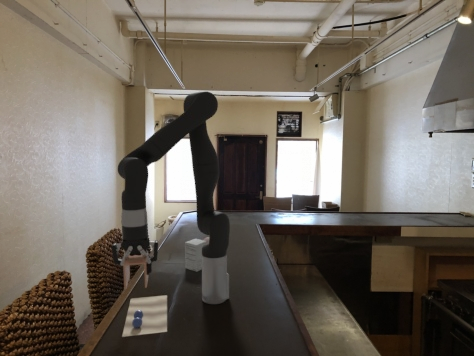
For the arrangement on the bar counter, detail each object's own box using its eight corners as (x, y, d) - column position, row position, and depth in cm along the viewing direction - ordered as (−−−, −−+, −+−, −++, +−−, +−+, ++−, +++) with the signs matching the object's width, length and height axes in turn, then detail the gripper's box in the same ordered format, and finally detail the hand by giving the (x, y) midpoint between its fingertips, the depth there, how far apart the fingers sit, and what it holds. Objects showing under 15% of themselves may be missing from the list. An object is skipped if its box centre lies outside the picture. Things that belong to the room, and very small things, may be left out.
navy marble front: (140, 323, 102) (140, 314, 102) (143, 328, 100) (143, 318, 99) (131, 326, 101) (130, 317, 100) (133, 331, 98) (133, 321, 98)
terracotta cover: (128, 276, 105) (127, 252, 104) (148, 274, 107) (147, 250, 106) (124, 289, 95) (123, 263, 95) (146, 287, 97) (145, 262, 96)
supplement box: (195, 263, 156) (195, 238, 154) (207, 267, 151) (207, 240, 150) (184, 268, 150) (184, 241, 148) (196, 272, 145) (196, 244, 144)
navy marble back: (141, 316, 107) (141, 307, 106) (144, 320, 104) (144, 311, 104) (132, 318, 105) (132, 310, 105) (135, 323, 102) (134, 314, 102)
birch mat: (130, 301, 119) (130, 298, 119) (167, 297, 121) (167, 295, 121) (122, 340, 95) (122, 336, 95) (167, 334, 98) (167, 331, 98)
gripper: (159, 218, 104) (160, 268, 106) (111, 221, 101) (114, 272, 103) (158, 224, 97) (160, 277, 99) (107, 227, 94) (110, 282, 96)
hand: (136, 274), depth 101 cm, fingers closed on terracotta cover, 6 cm apart
